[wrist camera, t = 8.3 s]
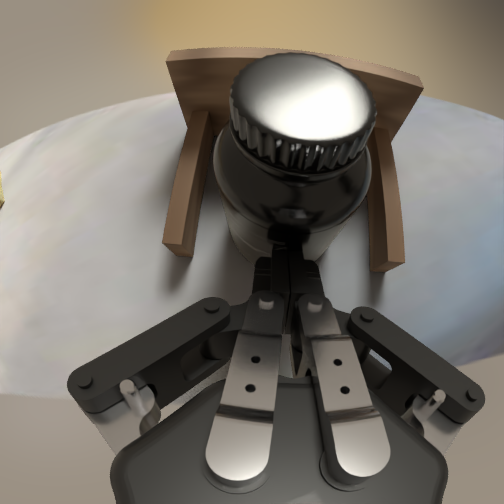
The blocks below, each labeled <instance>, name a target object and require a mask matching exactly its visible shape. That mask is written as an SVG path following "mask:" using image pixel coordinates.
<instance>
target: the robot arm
mask: <svg viewBox="0 0 504 504" xmlns="http://www.w3.org/2000/svg"><path fill="white" fill-rule="evenodd" d="M284 326H285V334H291V341H290V346H289V351H290V359H291V367H292V374H293V378H288V377H284V376H280V375H278V371H279V361H280V351H281V341H282V335H281V334H283V332H284ZM371 349H372V350H373V351H375V352H376V353H377V354H379V355H380V356H381V357H382V358H384V359H385V360H386V361H388V362H389V363H390V365H391V367H392V371H391V370H389V369H388V368H387V367H385V366H384V365H383V364H382V363H380V362H379V361H378V360H377V359H375V358H374V357H373V356H372V355H370V354H369V352H370V350H371ZM230 357H232V359H231V363H230V367H229V371H228V375H227V379H224V380H221V381H218V382H216V383H213V384H211V385H210V386H208V387H206V388H205V389H204V390H202V391H201V392H200V393H198V394H197V395H196V396H195V397H193V398H192V399H191V400H189V401H188V402H187V403H185V404H184V405H183V406H182V407H180V408H179V409H178V410H176V411H175V412H174V413H172V414H171V415H170V416H168V417H167V418H166V419H164V420H163V421H161V422H160V423H158V422H159V420H160V418H161V411H160V410H161V409H162V408H164V407H165V406H167V405H168V404H170V403H171V402H173V401H174V400H176V399H177V398H178V397H180V396H181V395H183V394H184V393H186V392H187V391H189V390H190V389H191V388H193V387H194V386H196V385H197V384H198V383H200V382H201V381H203V380H204V379H205V378H207V377H208V376H210V375H211V374H212V373H214V372H215V371H216V370H218V369H219V368H220V367H222V366H223V365H225V364H226V363H227V362H228V361H229V359H230ZM67 388H68V391H69V393H70V394H71V395H72V397H73V398H74V399H75V401H76V402H77V403H78V405H79V407H80V408H81V410H82V411H83V412H84V413H85V415H86V416H87V417H88V418H89V419H90V420H91V422H92V423H93V424H95V425H96V427H97V429H98V430H99V432H100V433H101V435H102V436H103V438H104V439H105V441H106V442H107V444H108V445H109V446H110V448H111V449H112V451H113V452H114V453H115V455H116V457H115V458H114V460H113V463H112V466H111V470H110V481H111V486H112V489H113V492H114V495H115V500H116V504H442V498H443V494H444V491H445V488H446V484H447V480H448V467H447V463H446V460H445V458H444V454H445V453H446V451H447V450H448V448H449V447H450V445H451V444H452V442H453V440H454V439H455V437H456V435H457V434H458V432H459V431H460V429H461V427H462V426H463V425H464V424H465V423H467V422H468V421H469V420H470V419H471V418H472V417H473V416H474V415H475V414H476V413H477V412H478V411H479V410H480V409H481V408H482V407H483V405H484V403H485V395H484V392H483V390H482V389H481V387H480V386H479V385H478V384H476V383H475V382H473V381H472V380H471V379H470V378H468V377H467V376H466V375H464V374H463V373H462V372H460V371H459V370H458V369H456V368H455V367H454V366H452V365H451V364H450V363H448V362H447V361H446V360H444V359H443V358H441V357H440V356H439V355H437V354H436V353H435V352H433V351H432V350H430V349H429V348H428V347H426V346H425V345H424V344H422V343H421V342H419V341H418V340H417V339H415V338H414V337H412V336H411V335H410V334H408V333H407V332H405V331H404V330H403V329H401V328H400V327H398V326H397V325H396V324H394V323H393V322H391V321H390V320H389V319H387V318H386V317H384V316H383V315H382V314H380V313H379V312H377V311H376V310H374V309H372V308H369V307H357V308H355V309H353V310H352V312H351V314H349V313H345V312H342V311H338V310H336V309H334V308H333V307H332V304H331V302H330V301H329V299H327V298H326V297H325V295H324V291H323V286H322V282H321V277H320V274H319V269H318V266H317V264H316V263H315V262H314V261H313V260H307V259H304V255H303V251H288V253H287V251H280V250H274V249H272V252H271V257H263V256H260V257H259V258H258V260H257V261H256V262H255V272H254V281H253V290H252V295H251V296H250V298H249V300H248V301H247V302H245V303H243V304H240V305H236V306H230V305H229V304H228V303H227V302H226V301H225V300H223V299H221V298H216V297H209V298H204V299H202V300H200V301H198V302H196V303H195V304H193V305H191V306H189V307H188V308H186V309H184V310H182V311H180V312H179V313H177V314H175V315H173V316H172V317H170V318H168V319H166V320H164V321H163V322H161V323H159V324H157V325H156V326H154V327H152V328H150V329H148V330H147V331H145V332H143V333H141V334H139V335H138V336H136V337H134V338H132V339H130V340H129V341H127V342H125V343H123V344H121V345H119V346H118V347H116V348H114V349H112V350H110V351H109V352H107V353H105V354H103V355H101V356H99V357H98V358H96V359H94V360H92V361H90V362H88V363H86V364H85V365H83V366H81V367H79V368H77V369H76V370H74V371H73V372H72V373H71V375H70V376H69V378H68V381H67Z"/></svg>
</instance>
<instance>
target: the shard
mask: <svg viewBox="0 0 504 504" xmlns="http://www.w3.org/2000/svg"><path fill="white" fill-rule="evenodd" d="M4 202H5V200H4V196H3V190H2V186H1V172H0V207H1V205H2V204H3V203H4Z"/></svg>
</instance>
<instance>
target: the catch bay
mask: <svg viewBox="0 0 504 504" xmlns="http://www.w3.org/2000/svg"><path fill="white" fill-rule="evenodd" d="M288 52H294V53H306V54H312V55H317V56H320V57H324V58H328V59H330V60H331V61H334V62H337V63H339V64H341V65H342V66H344V67H346V68H348V69H350V70H351V71H352V72H353V73H354V74H356V75H358V76H359V77H360V79H361V80H362V81H363V82H364V83H366V84H367V87H368V89H369V90H370V91H371V92H372V94H373V95H372V97H373V98H374V100H375V101H376V105H375V107H376V109H377V115H376V117H375V118H376V122H375V125H374V127H373V129H372V131H371V133H370V135H369V137H368V141H367V147H368V150H369V153H370V158H371V166H372V174H371V181H370V185H369V189H368V191H367V202H368V217H369V241H370V271H376V272H387V271H389V270H391V269H393V268H395V267H397V266H399V265H401V264H403V263H405V252H404V236H403V223H402V213H401V204H400V195H399V188H398V181H397V174H396V168H395V162H394V156H393V151H392V146H391V141H392V140H393V138H394V137H395V135H396V134H397V132H398V130H399V129H400V127H401V126H402V124H403V122H404V121H405V119H406V117H407V116H408V114H409V113H410V111H411V109H412V108H413V106H414V104H415V103H416V101H417V99H418V98H419V96H420V94H421V92H422V91H423V89H424V87H423V85H422V83H421V80H420V78H419V77H418V76H415V75H412V74H409V73H406V72H403V71H399V70H396V69H392V68H388V67H385V66H381V65H377V64H373V63H369V62H365V61H360V60H355V59H351V58H345V57H340V56H335V55H328V54H322V53H315V52H307V51H298V50H288V49H275V48H252V47H220V48H199V49H187V50H176V51H171V52H170V54H169V56H168V58H167V60H166V64H167V67H168V70H169V73H170V76H171V79H172V83H173V86H174V89H175V92H176V95H177V98H178V101H179V104H180V107H181V110H182V113H183V116H184V119H185V122H186V125H187V128H188V129H187V132H186V136H185V140H184V144H183V148H182V151H181V155H180V159H179V164H178V168H177V172H176V176H175V181H174V185H173V189H172V194H171V199H170V204H169V208H168V213H167V218H166V224H165V229H164V234H163V240H162V243H163V244H164V245H165V246H166V247H167V248H168V249H169V250H170V251H172V252H173V253H174V254H175V255H176V256H187V257H193V254H194V247H195V240H196V233H197V227H198V220H199V214H200V208H201V202H202V196H203V190H204V185H205V179H206V174H207V168H208V163H209V158H210V153H211V148H212V143H213V138H214V135H219V133H220V131H221V130H222V128H223V126H224V125H225V124H226V122H227V121H228V120H229V116H230V102H229V98H230V87H231V85H232V84H233V79H234V77H236V76H237V75H238V74H239V70H241V69H243V68H245V67H246V65H247V64H249V63H251V62H253V61H254V60H256V59H258V58H263V57H264V56H266V55H274V54H277V53H288Z"/></svg>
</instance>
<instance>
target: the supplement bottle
mask: <svg viewBox="0 0 504 504" xmlns="http://www.w3.org/2000/svg"><path fill="white" fill-rule="evenodd" d="M372 95H373V94H372V92H371V91H370V90H369V89H368V87H367V84H366V83H364V82H363V81H362V80H361V79H360V77H359V76H358V75H356V74H354V73H353V72H352V71H351V70H350V69H348V68H346V67H344V66H342V65H341V64H339V63H337V62H334V61H331V60H330V59H328V58H324V57H320V56H317V55H312V54H306V53H294V52H288V53H277V54H274V55H266V56H264V57H263V58H258V59H256V60H254V61H253V62H251V63H249V64H247V65H246V67H245V68H243V69H241V70H239V74H238V75H237V76H236V77H234V79H233V84H232V85H231V87H230V98H229V102H230V116H229V120H228V121H227V122H226V124H225V125H224V126H223V128H222V130H221V131H220V133H219V135H218V138H217V140H216V143H215V147H214V153H213V166H214V173H215V178H216V182H217V186H218V189H219V193H220V197H221V200H222V204H223V208H224V211H225V215H226V219H227V222H228V226H229V229H230V233H231V236H232V238H233V241H234V243H235V245H236V247H237V248H238V250H239V251H240V253H241V254H242V255H243V256H244V257H245V258H246V259H247V260H248V261H249V262H251V263H252V264H254V265H255V262H256V261H257V260H258V258H259V257H260V256H263V257H271V252H272V249H274V250H280V251H287V253H288V251H303V255H304V259H307V260H313V261H314V262H315V261H316V260H317V259H318V258H319V257H320V256H321V255H322V254H323V253H324V252H325V250H326V249H327V248H328V247H329V245H330V244H331V243H332V241H333V240H334V239H335V238H336V236H337V235H338V234H339V232H340V231H341V230H342V229H343V227H344V226H345V225H346V223H347V222H348V221H349V219H350V218H351V217H352V215H353V214H354V213H355V211H356V210H357V209H358V207H359V206H360V204H361V203H362V201H363V199H364V198H365V196H366V194H367V191H368V189H369V185H370V181H371V174H372V166H371V158H370V153H369V150H368V147H367V141H368V137H369V135H370V133H371V131H372V129H373V127H374V125H375V122H376V118H375V117H376V115H377V109H376V107H375V105H376V101H375V100H374V98H373V97H372Z"/></svg>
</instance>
